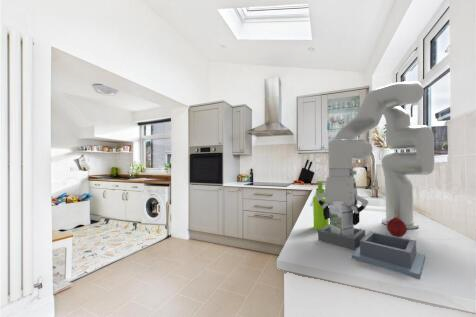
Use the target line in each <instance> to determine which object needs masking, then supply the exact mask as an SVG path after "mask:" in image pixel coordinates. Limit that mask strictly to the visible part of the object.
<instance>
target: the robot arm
mask: <svg viewBox="0 0 476 317" xmlns="http://www.w3.org/2000/svg"><path fill="white" fill-rule="evenodd" d="M424 92H425V90H424V87H423V85H422V84H421V83H420V82H419V81H415V80H414V81H401V82H400V81H399V82H394V83H390V84H388V85H385V86H381V87H378V88H375V89H373V90H370V91H368V92H367V93H366V95H365V96H364V98H363V101H362V103H361V104H360V107H359V109H358V111H357V113H356V115H355V117H354V118H352V120H350V121H348V123H347V124H345V125H344V126H343V127H342V128H341V129H340V130H339V131H337V134H336V135H335V136H334V139H332V140H329V141H328V145H327V146H328V176H327V177H326V180H325V181H326V183H325V186H324V189H325V192H324V193H322V194H319V195H317V196H316V195H315V196H316V197H317V199H318V201H319V203H320V205H321V206H322V208H323V216H324V219H329V220H330V213H329V204H333V201H334V202H335V201H342V202H344V203H345V206H346V207H351V209H352V210H353V226H356V225H358V224H359V223H360V213H361V212H362V211H364V209H366V207H367V205H369V200H367V199H366V198H364V197H362V196H360V195H359V194H358V189H357V182H356V178H355V177H353V176H355V175H357V171H356V170H354V169H353V167H352V166H353V165H352V164H353V163H352V162H353V161H361V160H366V159H368V158H369V157H370V156H372V153H373V146H372V144H371V143H370V142H369V141H368V140H365V139H361V138H360V139H356V138H358V136H359V137H360V135H363V134H365V133H367V132H369V131H371V130H373V129H375V128H376V127H377V126H378V125H379V124H380V121H381V119H382V116H384V118H385V142H386V147H387V148H388V149H390V150H394V151H395V150H397V151H399V150H415V151H414V152H413V151H412V152H410V151H408V152H392V153H388V154H387V153H386V154H385V156H384V157H382V159H381V167H382V171H383V176H384V187H385V189H384V192H385V218H382V220H381V222H382V223H383V224H384V225H386V226H387V223H388V222H389V221H390V220H391V219H393V218H394V217H395V216H397V217H398V218H399V219H400V220H402V221H403V222H404V223H405V225H406V227H407V230H408V229H409V230H411V229H412V230H413V229H418V228H419V224H418V223H417V222H416V221H414V202H413V201H414V199H413V198H414V196H413V195H414V194H413V193H414V192H413V190H414V189H413V184H412V182H411V180H410V179H409V178H408V177H407V176H410V175H411V176H428V175H430V174H432V173H433V171H434V170H435V136H434V132H433V130H432V128H431V127H429V126H428V125H423V124H422V125H415V126H414V125H413V126H411V117H410V114H409V113H408V112H407V111H406V110H405V109H404V108H402V107H401V106H406V105H410V104H415V103H418V102H419V101H421V100H422V98H423V96H424ZM323 196H325V202H324V201H323V200H322V197H323ZM359 202H360V203H361V204H360V206H359V205H358V203H359Z"/></svg>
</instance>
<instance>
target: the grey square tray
mask: <svg viewBox="0 0 476 317" xmlns="http://www.w3.org/2000/svg"><path fill="white" fill-rule="evenodd" d="M365 236H366V229H361V228H357V227H354V236H352V237H349V236H344V235H340V234H336V233H331V232H330V223H329V225H327V226H325V227H324V228H322V229H320V230H317V241H320V242H323V241H324V242H323V243H326V242H327V244H331V245H335V246H339V247H341V248H345V249H349V250H352V251H356V250H357V249H358V248H359V247H360V240H361V239H362V238H364V237H365Z"/></svg>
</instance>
